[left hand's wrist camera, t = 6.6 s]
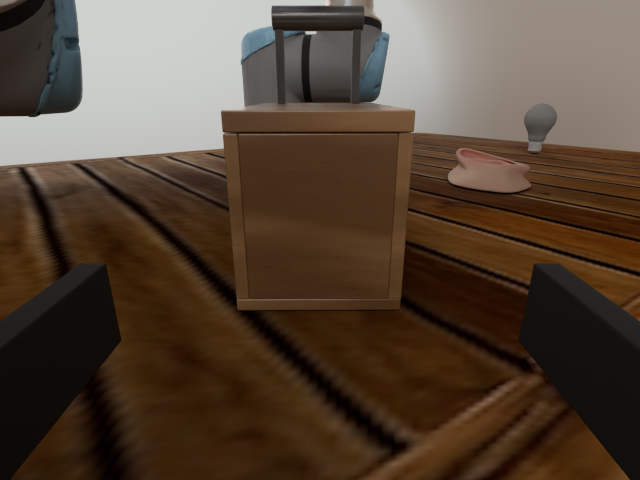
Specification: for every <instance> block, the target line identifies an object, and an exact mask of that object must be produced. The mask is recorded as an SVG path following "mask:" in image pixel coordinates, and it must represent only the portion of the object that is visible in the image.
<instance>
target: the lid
mask: <svg viewBox="0 0 640 480" xmlns="http://www.w3.org/2000/svg"><path fill="white" fill-rule="evenodd" d="M272 27H273V31H275V52H276V80H277V103H263V104H257V105H251V106H246V107H240V108H234V109H228V110H223V111H221V117H222V129H223V132H225V133H244V132H413V131H414V121H415V111H414V110H410V109H404V108H398V107H392V106H386V105H380V104H375V103H359V90H360V57H361V31H363V27H364V6H272ZM284 31H352V58H351V100H350V103H286V85H285V51H284Z"/></svg>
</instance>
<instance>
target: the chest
mask: <svg viewBox="0 0 640 480" xmlns="http://www.w3.org/2000/svg"><path fill="white" fill-rule="evenodd" d="M413 136H414V134H413V133H411V132H244V133H225V134H223V141H224V153H225V165H226V177H227V189H228V201H229V213H230V225H231V237H232V249H233V261H234V274H235V286H236V298H237V309H238V310H399V309H400V302H401V291H402V278H403V265H404V252H405V239H406V226H407V214H408V201H409V188H410V175H411V162H412V149H413Z"/></svg>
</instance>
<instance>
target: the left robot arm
mask: <svg viewBox="0 0 640 480" xmlns="http://www.w3.org/2000/svg"><path fill="white" fill-rule="evenodd" d="M78 43H79V36H78V22H77V13H76V5H75V0H0V116H29V117H36V116H39V115H40V114H52V113H66V112H70V111H73V110H74V109H76V108H77V107H78V106H79V104H80V102H81V100H82V91H83V87H82V66H81V55H80V47H79V45H78ZM120 341H121V336H120V331H119V326H118V321H117V316H116V312H115V307H114V302H113V297H112V292H111V287H110V282H109V277H108V272H107V268H106V264H80V265H78V266H77V267H75V268H74V269H73V270H71V271H70V272H69V273H67V274H66V275H64V276H63V277H62V278H60V279H59V280H57V281H56V282H55V283H53V284H52V285H50V286H49V287H48V288H46V289H45V290H43V291H42V292H41V293H39V294H38V295H36V296H35V297H34V298H32V299H31V300H30V301H28V302H27V303H25V304H24V305H23V306H21V307H20V308H18V309H17V310H16V311H14V312H13V313H11V314H10V315H9V316H7V317H6V318H4V319H3V320H2V321H0V480H10V479H11V478H12V476H13V475H14V474H15V473H16V471H17V470H18V469H19V468H20V466H21V465H22V464H23V463H24V461H25V460H26V459H27V458H28V456H29V455H30V454H31V453H32V451H33V450H34V449H35V448H36V446H37V445H38V444H39V443H40V441H41V440H42V439H43V438H44V436H45V435H46V434H47V433H48V431H49V430H50V429H51V428H52V426H53V425H54V424H55V423H56V421H57V420H58V419H59V418H60V416H61V415H62V414H63V413H64V411H65V410H66V409H67V408H68V406H69V405H70V404H71V403H72V401H73V400H74V399H75V398H76V396H77V395H78V394H79V393H80V391H81V390H82V389H83V388H84V386H85V385H86V384H87V383H88V381H89V380H90V379H91V378H92V376H93V375H94V374H95V373H96V371H97V370H98V369H99V368H100V366H101V365H102V364H103V363H104V361H105V360H106V359H107V358H108V356H109V355H110V354H111V353H112V351H113V350H114V349H115V348H116V346H117V345H118V344H119V343H120ZM519 341H520V343H521V344H522V345H523V346H524V348H525V349H526V350H527V351H528V353H529V354H530V355H531V356H532V358H533V359H534V360H535V361H536V363H537V364H538V365H539V366H540V368H541V369H542V370H543V371H544V373H545V374H546V375H547V376H548V378H549V379H550V380H551V381H552V383H553V384H554V385H555V386H556V388H557V389H558V390H559V391H560V393H561V394H562V395H563V396H564V398H565V399H566V400H567V401H568V403H569V404H570V405H571V406H572V408H573V409H574V410H575V411H576V413H577V414H578V415H579V416H580V418H581V419H582V420H583V421H584V423H585V424H586V425H587V426H588V428H589V429H590V430H591V431H592V433H593V434H594V435H595V436H596V438H597V439H598V440H599V441H600V443H601V444H602V445H603V446H604V448H605V449H606V450H607V451H608V453H609V454H610V455H611V456H612V458H613V459H614V460H615V461H616V463H617V464H618V465H619V466H620V468H621V469H622V470H623V471H624V473H625V474H626V475H627V476H628V478H629V479H630V480H640V321H638V320H637V319H636V318H634V317H633V316H631V315H630V314H629V313H627V312H626V311H624V310H623V309H622V308H620V307H619V306H617V305H616V304H615V303H613V302H612V301H610V300H609V299H608V298H606V297H605V296H604V295H602V294H601V293H599V292H598V291H597V290H595V289H594V288H592V287H591V286H590V285H588V284H587V283H585V282H584V281H583V280H581V279H580V278H578V277H577V276H576V275H574V274H573V273H571V272H570V271H569V270H567V269H566V268H565V267H563V266H562V265H560V264H534V268H533V272H532V277H531V282H530V287H529V292H528V297H527V302H526V307H525V312H524V316H523V321H522V326H521V331H520V336H519Z"/></svg>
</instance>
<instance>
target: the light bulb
mask: <svg viewBox="0 0 640 480" xmlns="http://www.w3.org/2000/svg"><path fill="white" fill-rule="evenodd" d="M556 119H557V114H556V111H555V110H554V108H553V107H552V106H550V105H547V104H538V105H535V106H533V107H532V108H531V109H529V111H528V112H527V113H526V115H525V118H524V123H525V126H526V129H527V132H528V139H529V148H528V151H530V152H531V153H538V152H540V151H541V149H542V148H541V147H542V146H541V145H542V144H543V141H544V140H545V138H546V135H547V133H548V132H549V131H550V130H551V128H552V127H553V126H554V124H555V122H556Z"/></svg>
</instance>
